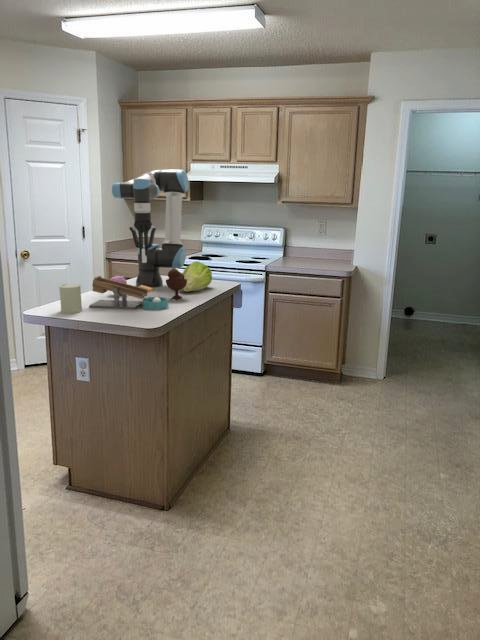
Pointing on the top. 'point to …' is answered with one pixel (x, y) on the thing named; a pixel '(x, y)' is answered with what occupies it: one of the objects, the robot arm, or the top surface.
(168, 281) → the ice cream bowl
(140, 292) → the chute
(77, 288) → the can
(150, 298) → the teal bowl
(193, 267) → the lettuce
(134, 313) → the top surface
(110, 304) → the chute stand
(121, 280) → the cupcake
